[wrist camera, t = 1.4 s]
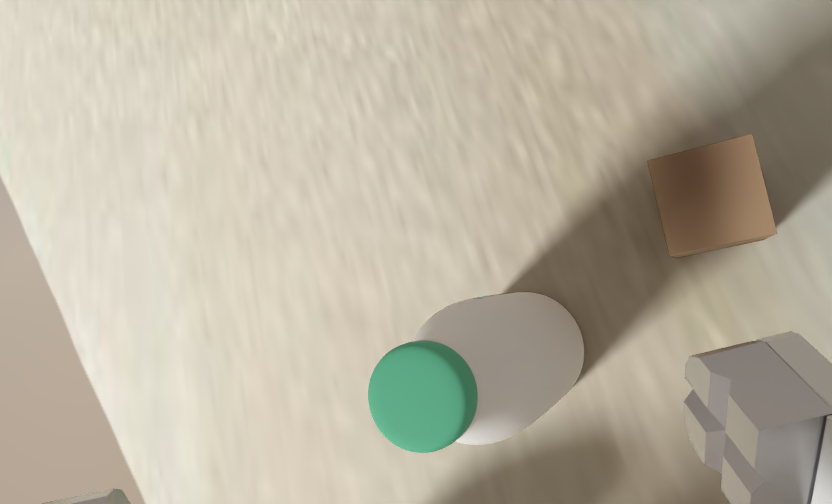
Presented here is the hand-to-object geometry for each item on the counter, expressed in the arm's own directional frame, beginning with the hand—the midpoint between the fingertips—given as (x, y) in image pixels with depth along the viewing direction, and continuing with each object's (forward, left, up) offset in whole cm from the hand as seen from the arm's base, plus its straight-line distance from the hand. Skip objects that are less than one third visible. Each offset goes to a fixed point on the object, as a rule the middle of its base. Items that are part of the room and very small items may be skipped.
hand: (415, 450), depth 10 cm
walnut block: (-5, -5, -37) cm, 38 cm away
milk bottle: (+8, +1, -37) cm, 38 cm away
